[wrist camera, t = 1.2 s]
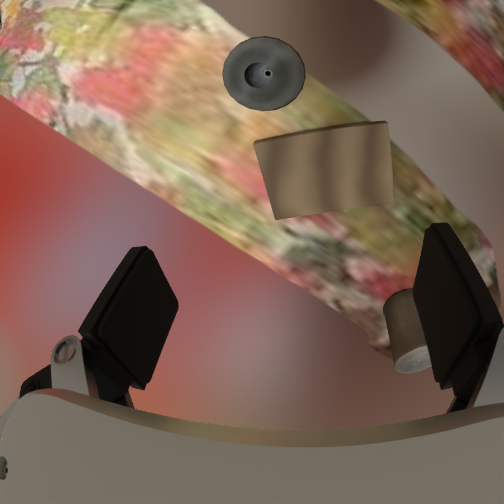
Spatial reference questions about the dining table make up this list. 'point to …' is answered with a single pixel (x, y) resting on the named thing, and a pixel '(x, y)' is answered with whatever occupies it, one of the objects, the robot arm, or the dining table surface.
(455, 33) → the dining table surface
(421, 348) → the pillar candle
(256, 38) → the beverage cup
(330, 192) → the walnut board
